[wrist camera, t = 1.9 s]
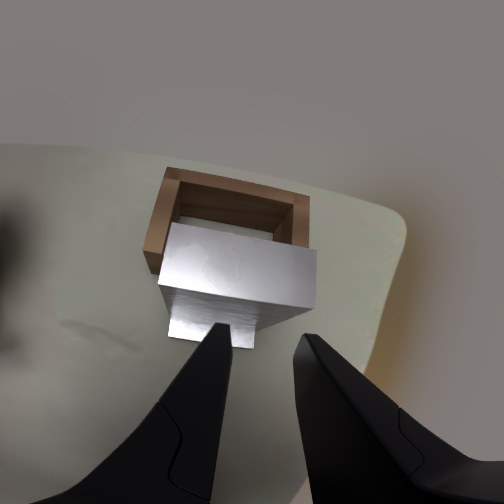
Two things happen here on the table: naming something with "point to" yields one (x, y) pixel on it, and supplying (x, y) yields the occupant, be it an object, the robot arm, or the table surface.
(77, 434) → the table surface
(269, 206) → the walnut u-shaped bracket
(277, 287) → the angle bracket
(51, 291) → the table surface
